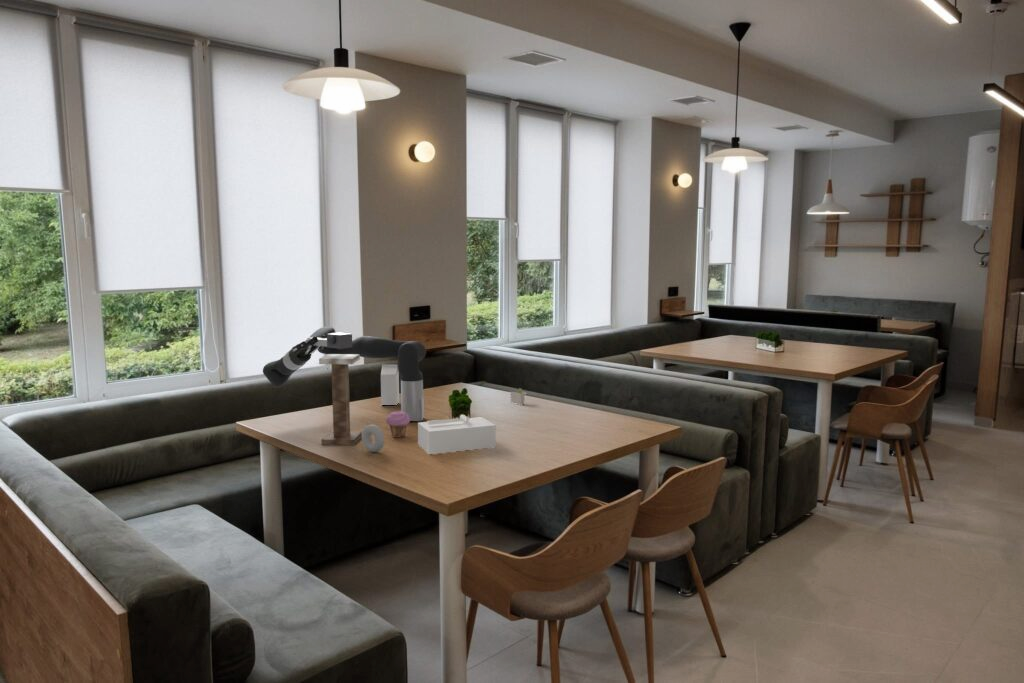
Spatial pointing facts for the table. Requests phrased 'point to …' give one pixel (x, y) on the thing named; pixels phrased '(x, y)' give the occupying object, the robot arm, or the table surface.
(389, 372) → the milk carton
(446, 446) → the tissue box
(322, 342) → the grey block with knob
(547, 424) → the table surface
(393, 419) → the cupcake
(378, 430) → the donut
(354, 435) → the stand
